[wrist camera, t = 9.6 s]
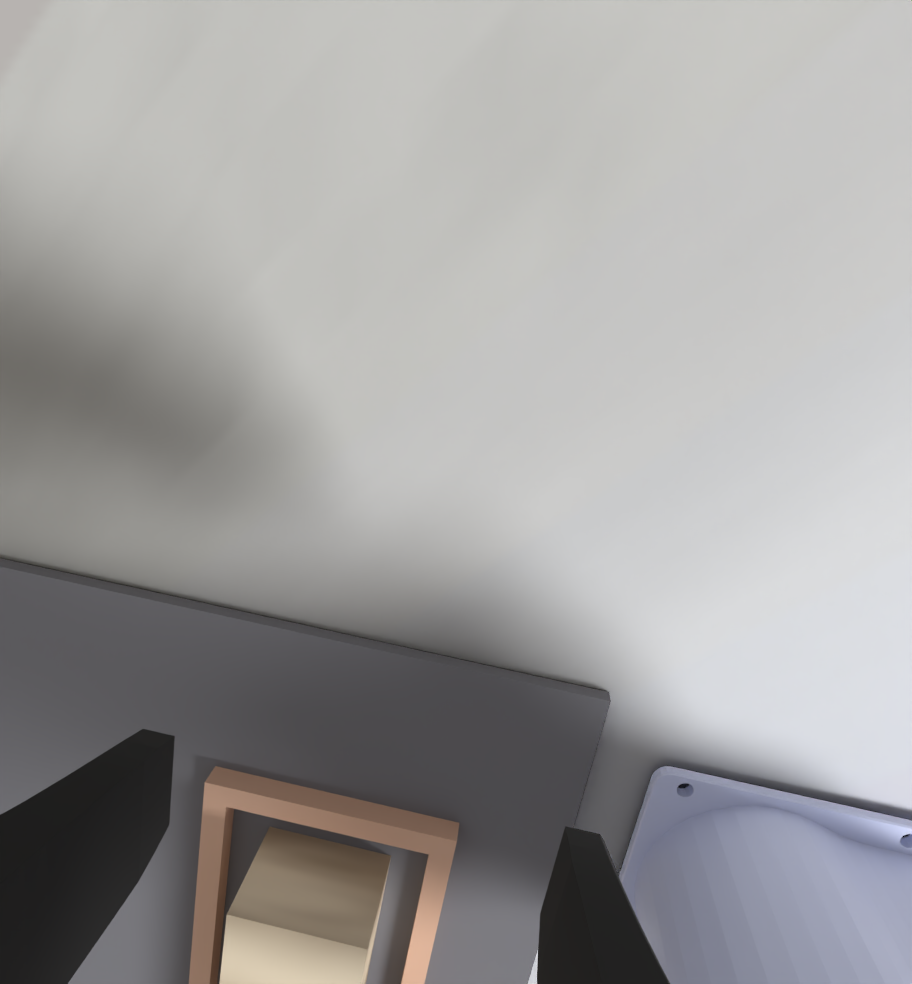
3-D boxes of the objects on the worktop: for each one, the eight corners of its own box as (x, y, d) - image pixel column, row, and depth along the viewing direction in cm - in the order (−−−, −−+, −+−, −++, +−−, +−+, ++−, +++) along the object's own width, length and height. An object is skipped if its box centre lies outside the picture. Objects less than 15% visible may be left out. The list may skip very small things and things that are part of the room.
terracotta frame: (459, 822, 23) (456, 841, 22) (396, 1098, 27) (392, 1122, 26) (215, 766, 23) (204, 782, 22) (191, 1046, 28) (182, 1068, 27)
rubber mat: (608, 692, 21) (610, 701, 21) (487, 1107, 27) (486, 1122, 27) (-102, 535, 23) (-116, 541, 22) (-67, 967, 29) (-77, 978, 28)
